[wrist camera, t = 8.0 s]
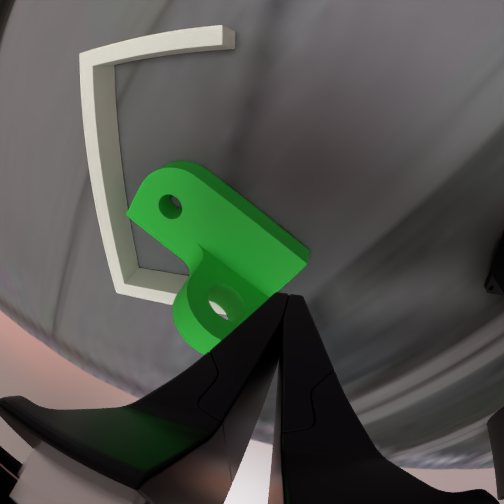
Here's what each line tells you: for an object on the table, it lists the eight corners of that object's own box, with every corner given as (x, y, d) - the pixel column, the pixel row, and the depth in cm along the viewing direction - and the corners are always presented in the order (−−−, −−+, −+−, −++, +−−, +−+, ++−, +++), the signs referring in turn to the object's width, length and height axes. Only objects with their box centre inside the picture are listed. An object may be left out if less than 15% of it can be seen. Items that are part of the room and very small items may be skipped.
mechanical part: (309, 249, 22) (297, 327, 15) (259, 296, 25) (232, 373, 18) (174, 143, 20) (103, 178, 14) (139, 204, 23) (74, 256, 17)
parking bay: (235, 31, 15) (222, 25, 13) (238, 295, 25) (229, 315, 23) (101, 53, 17) (79, 53, 15) (130, 276, 27) (116, 292, 25)
